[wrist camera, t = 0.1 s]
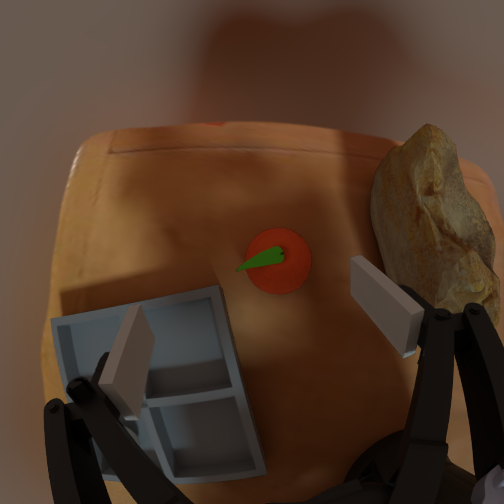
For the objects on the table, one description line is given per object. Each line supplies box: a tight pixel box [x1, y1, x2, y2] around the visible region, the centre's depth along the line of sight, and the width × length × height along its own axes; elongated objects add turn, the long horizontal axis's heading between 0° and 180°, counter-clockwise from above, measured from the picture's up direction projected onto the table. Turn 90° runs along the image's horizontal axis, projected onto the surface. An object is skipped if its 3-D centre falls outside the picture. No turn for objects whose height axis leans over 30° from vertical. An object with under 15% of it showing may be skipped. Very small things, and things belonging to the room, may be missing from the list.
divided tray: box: [50, 285, 268, 484], centre depth 27 cm, size 22×22×4 cm
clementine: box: [236, 228, 312, 295], centre depth 29 cm, size 8×7×7 cm
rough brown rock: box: [370, 124, 501, 328], centre depth 26 cm, size 23×17×15 cm
